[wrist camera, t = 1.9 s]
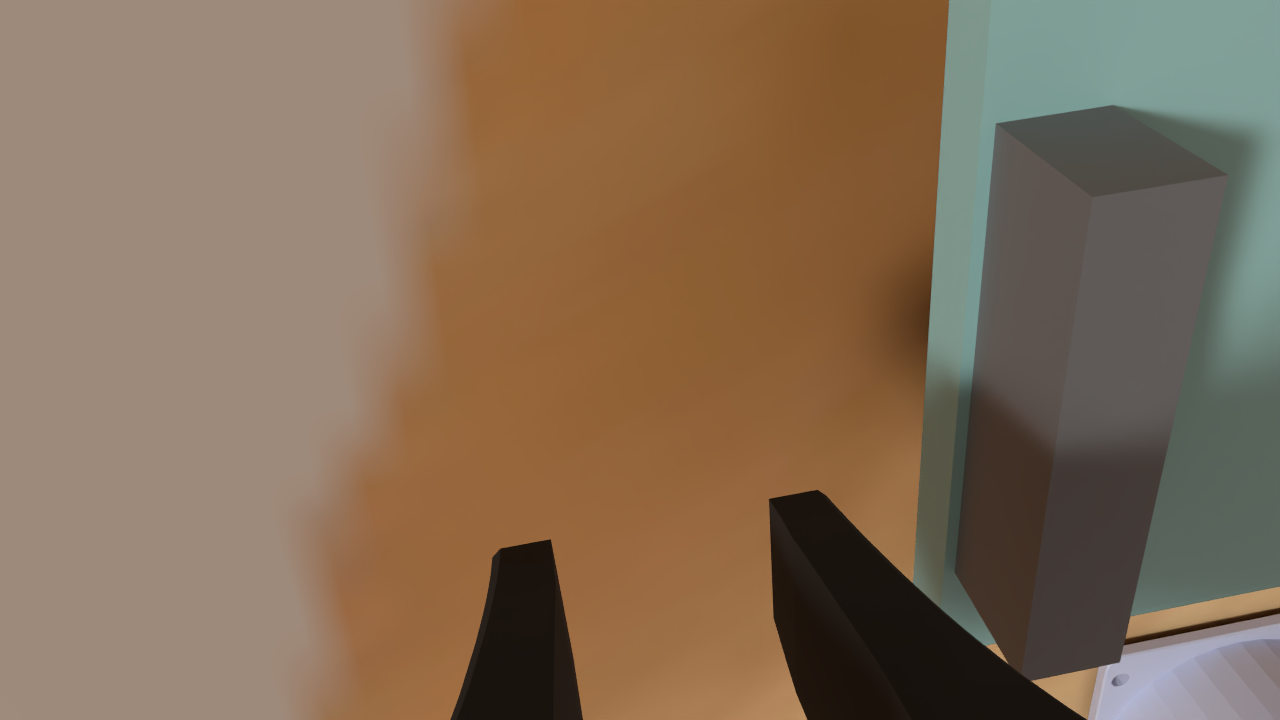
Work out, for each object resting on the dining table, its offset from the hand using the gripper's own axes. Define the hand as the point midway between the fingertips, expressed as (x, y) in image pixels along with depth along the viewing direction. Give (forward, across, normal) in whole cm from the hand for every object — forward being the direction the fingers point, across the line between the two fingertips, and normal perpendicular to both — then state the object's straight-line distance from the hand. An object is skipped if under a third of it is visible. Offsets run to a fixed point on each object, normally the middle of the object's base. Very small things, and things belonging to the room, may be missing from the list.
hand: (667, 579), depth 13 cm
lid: (+4, -11, 0) cm, 12 cm away
